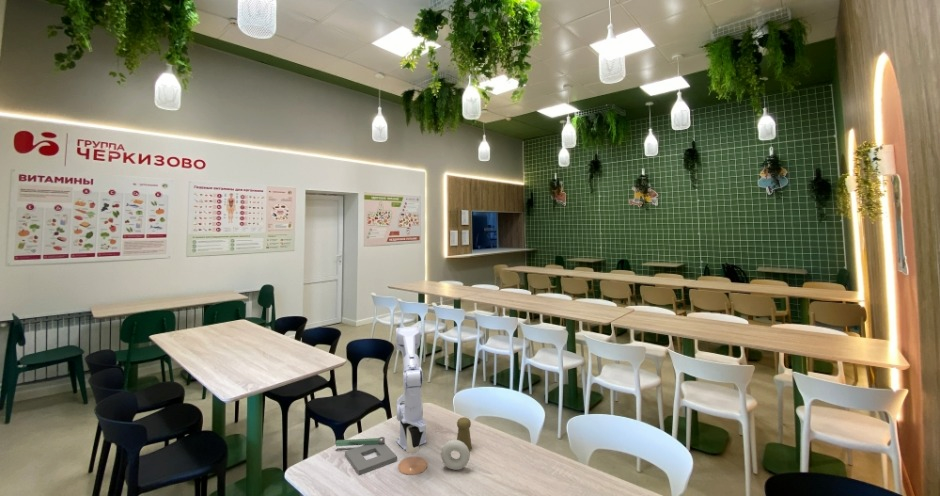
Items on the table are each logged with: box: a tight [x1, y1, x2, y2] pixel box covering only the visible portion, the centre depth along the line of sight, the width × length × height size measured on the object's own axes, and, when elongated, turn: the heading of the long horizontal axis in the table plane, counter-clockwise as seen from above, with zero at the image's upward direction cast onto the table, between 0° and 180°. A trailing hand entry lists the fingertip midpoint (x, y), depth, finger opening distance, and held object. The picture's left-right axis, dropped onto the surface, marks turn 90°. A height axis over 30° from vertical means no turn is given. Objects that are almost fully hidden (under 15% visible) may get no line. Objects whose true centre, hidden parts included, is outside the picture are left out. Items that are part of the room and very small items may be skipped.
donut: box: [440, 439, 471, 471], centre depth 132 cm, size 10×4×10 cm, turn 82°
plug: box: [406, 425, 419, 455], centre depth 133 cm, size 4×4×8 cm
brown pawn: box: [456, 417, 473, 452], centre depth 145 cm, size 6×6×11 cm
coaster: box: [397, 456, 428, 476], centre depth 134 cm, size 10×10×1 cm
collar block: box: [344, 443, 398, 476], centre depth 138 cm, size 14×14×2 cm
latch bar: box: [335, 436, 386, 447], centre depth 144 cm, size 18×2×2 cm, turn 97°
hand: (412, 443), depth 133 cm, fingers closed on plug, 4 cm apart
